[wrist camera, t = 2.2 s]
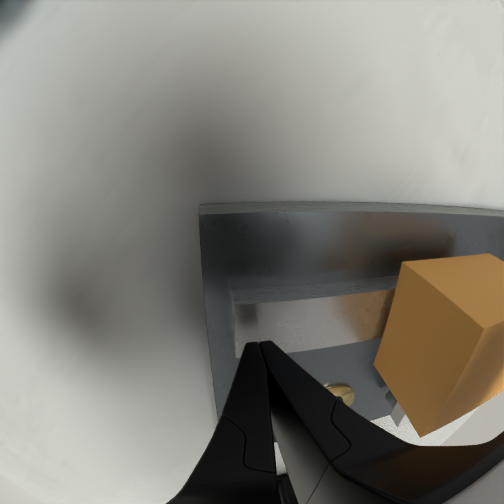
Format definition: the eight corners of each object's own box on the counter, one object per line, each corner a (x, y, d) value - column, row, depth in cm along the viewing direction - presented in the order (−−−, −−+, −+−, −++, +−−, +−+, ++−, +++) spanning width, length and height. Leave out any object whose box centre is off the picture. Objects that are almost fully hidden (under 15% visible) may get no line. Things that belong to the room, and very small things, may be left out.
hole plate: (511, 343, 20) (547, 379, 14) (220, 428, 16) (232, 524, 10) (554, 217, 15) (605, 244, 8) (200, 204, 11) (189, 308, 4)
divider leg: (426, 385, 15) (465, 440, 10) (345, 410, 14) (380, 483, 9) (478, 247, 11) (553, 295, 6) (390, 253, 10) (483, 329, 6)
